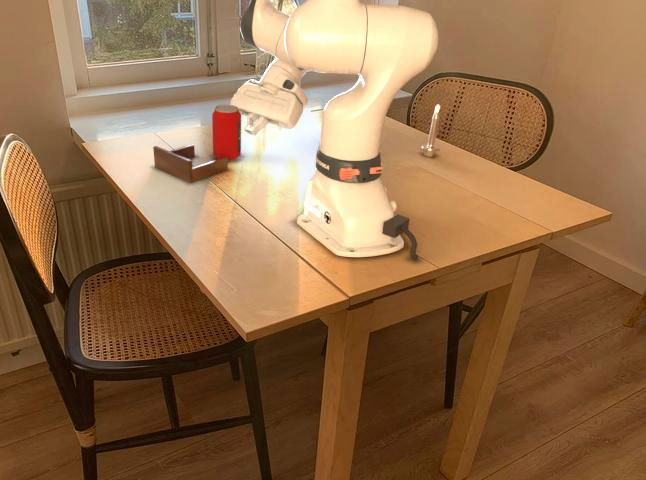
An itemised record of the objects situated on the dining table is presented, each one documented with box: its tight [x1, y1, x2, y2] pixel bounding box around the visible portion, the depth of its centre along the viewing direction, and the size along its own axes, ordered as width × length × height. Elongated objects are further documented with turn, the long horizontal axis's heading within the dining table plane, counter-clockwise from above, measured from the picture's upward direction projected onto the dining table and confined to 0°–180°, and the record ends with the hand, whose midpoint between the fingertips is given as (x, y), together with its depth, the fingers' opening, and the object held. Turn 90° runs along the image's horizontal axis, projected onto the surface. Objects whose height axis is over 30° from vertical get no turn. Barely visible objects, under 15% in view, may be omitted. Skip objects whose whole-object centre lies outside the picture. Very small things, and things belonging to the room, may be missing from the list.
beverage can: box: [211, 104, 242, 162], centre depth 139 cm, size 7×7×12 cm
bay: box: [152, 143, 228, 184], centre depth 134 cm, size 11×12×5 cm
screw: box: [420, 104, 442, 158], centre depth 146 cm, size 13×5×5 cm
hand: (249, 133), depth 145 cm, fingers closed
